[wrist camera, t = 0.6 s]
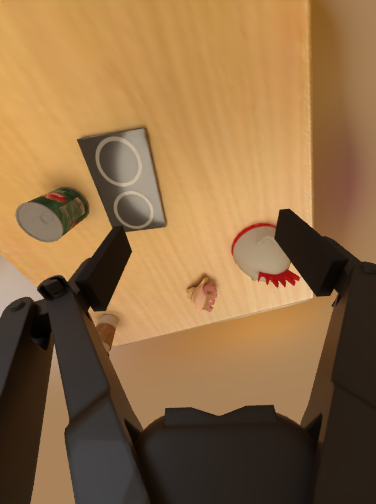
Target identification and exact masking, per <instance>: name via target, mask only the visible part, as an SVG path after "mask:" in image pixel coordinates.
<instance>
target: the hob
mask: <svg viewBox="0 0 376 504" xmlns="http://www.w3.org/2000/svg"><path fill="white" fill-rule="evenodd" d="M77 141H78V143H79V146H80V148H81V151H82V153H83V156H84V158H85V161H86V163H87V166H88V168H89V171H90V173H91V176H92V178H93V181H94V183H95V186H96V188H97V191H98V193H99V196H100V198H101V201H102V203H103V206H104V208H105V211H106V213H107V216H108V218H109V221H110V223H111V226H112V228H113V227H114V226H123V228H124V231H125V232H130V231H137V230H145V229H153V228H161V227H166V225H167V223H166V219H165V214H164V210H163V205H162V201H161V196H160V191H159V187H158V182H157V178H156V173H155V168H154V164H153V159H152V155H151V150H150V146H149V141H148V136H147V132H146V128H140V129H134V130H128V131H122V132H116V133H110V134H104V135H98V136H92V137H86V138H80V139H77Z"/></svg>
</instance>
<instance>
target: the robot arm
mask: <svg viewBox="0 0 376 504" xmlns="http://www.w3.org/2000/svg"><path fill="white" fill-rule="evenodd" d="M274 239H275V241H276V242H277V243H278V245H279V246H280V248H281V249H282V250H283V252H284V253H285V254H286V256H287V257H288V258H289V260H290V261H291V262H292V264H293V265H294V266H295V268H296V269H297V271H298V272H299V273H300V275H301V276H302V277H303V279H304V280H305V281H306V283H307V284H308V285H309V287H310V288H311V290H312V291H313V292H314V294H315V295H316V296H330V295H331V293H332V291H333V289H335V290H336V291H337V292H338V295H337V297H336V299H335V301H334V303H333V304H332V307H334V308H333V312H332V316H331V320H330V323H329V327H328V331H327V335H326V338H325V342H324V346H323V350H322V354H321V358H320V361H319V365H318V369H317V373H316V377H315V380H314V384H313V388H312V392H311V396H310V400H309V403H308V406H307V409H306V411H305V413H304V415H303V418H302V421H301V424H300V425H299V424H297V423H296V422H294V421H293V420H291V419H289V418H288V417H286V416H283V415H281V414H279V413H276V412H275V409H274V405H257V406H244V407H242V408H239V409H237V410H234V411H232V412H229V413H227V414H224V415H221V416H216V415H214V414H210V413H207V412H204V411H201V410H198V409H195V408H192V407H190V408H189V407H187V408H166V409H165V415H164V416H162V417H160V418H158V419H156V420H155V421H154V422H152V423H151V424H149V425H148V426H147V427H146V428H145V429H144V430H143V428H142V426H141V424H140V422H139V420H138V419H137V417H136V415H135V414H134V412H133V410H132V408H131V406H130V404H129V401H128V399H127V397H126V395H125V392H124V390H123V388H122V386H121V383H120V381H119V379H118V376H117V374H116V372H115V370H114V368H113V365H112V363H111V361H110V359H109V356H108V354H107V352H106V350H105V347H104V345H103V343H102V341H101V338H100V336H99V334H98V332H97V329H96V327H95V325H94V323H93V320H92V318H91V316H90V314H89V312H88V309H89V308H90V306H91V308H92V309H93V311H94V312H96V311H106V309H107V307H108V304H109V302H110V300H111V298H112V295H113V293H114V291H115V289H116V286H117V284H118V282H119V280H120V277H121V275H122V273H123V271H124V268H125V266H126V264H127V262H128V259H129V257H130V255H131V253H132V250H131V247H130V245H129V242H128V239H127V236H126V233H125V231H124V228H123V226H114V227H113V229H112V230H111V231H110V233H109V234H108V235H107V237H106V238H105V240H104V241H103V242H102V244H101V245H100V246H99V248H98V249H97V251H96V252H95V253H94V255H93V256H92V257H91V258H88V259H86V260H85V261H84V262H83V263H82V264H81V265H80V266H79V268H78V269H77V270H76V273H74V274H73V276H72V277H71V278H70V279H69V281H68V282H67V281H66V280H65V278H64V277H63V276H61V275H57V276H53V277H50V278H48V279H46V280H44V281H43V282H42V283H40V285H39V286H38V288H37V290H38V292H39V293H40V294H41V295H42V296H43V297H44V299H42V300H39V301H35V302H34V301H33V300H32V299H31V298H30V297H23V298H20V299H18V300H15V301H14V302H12V303H11V304H10V305H8V306H7V307H6V308H5V310H4V311H3V313H2V316H1V318H0V504H30V501H31V496H32V491H33V486H34V479H35V472H36V465H37V458H38V451H39V444H40V437H41V430H42V423H43V417H44V410H45V403H46V395H47V389H48V382H49V375H50V368H51V360H52V354H53V347H54V344H55V348H56V354H57V359H58V364H59V369H60V374H61V379H62V384H63V389H64V394H65V399H66V404H67V409H68V414H69V424H68V426H67V427H66V428H65V433H64V434H65V444H66V450H67V456H68V461H69V468H70V474H71V480H72V485H73V492H74V498H75V503H76V504H376V264H373V263H370V262H361V261H359V260H358V259H357V258H356V257H355V256H353V255H352V254H351V253H350V252H348V251H347V250H346V249H344V248H343V247H342V246H340V244H338V243H337V242H336V241H335V240H333V239H331V238H329V237H326V236H325V237H322V236H321V235H320V234H319V233H317V232H316V231H315V230H314V229H313V228H312V227H310V226H309V225H308V224H307V223H306V222H304V221H303V220H302V219H301V218H300V217H299V216H297V215H296V214H295V213H294V212H293V211H291V210H290V209H282V210H280V211H279V216H278V221H277V226H276V231H275V236H274Z"/></svg>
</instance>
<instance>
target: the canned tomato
mask: <svg viewBox="0 0 376 504" xmlns="http://www.w3.org/2000/svg"><path fill="white" fill-rule="evenodd" d="M88 213H89V205H88V203H87V200H86V199H85V197H84V196H83V195H82V194H81V193H79V192H78V191H76V190H74V189H72V188H68V187H63V188H59V189H57V190H55V191H52V192H50V193H48V194H45V195H43V196H40V197H38V198H36V199H33V200H31V201H29V202H27V203H23V204H21V205H20V206H19V207H18V208H17V210H16V219H17V222H18V224H19V226H20V227H21V228H22V229H23V231H24V232H26V233H27V234H28V235H29V236H31V237H33V238H34V239H37V240H39V241H43V242H54V241H57V240H58V239H60V238H61V237H62V236H63V235H65V234H66V233H67V232H68V231H69V230H71V229H72V228H73V227H74V226H75V225H77V224H78V223H79V222H80V221H82V220H83V219H84V218H86V216H87V215H88Z"/></svg>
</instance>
